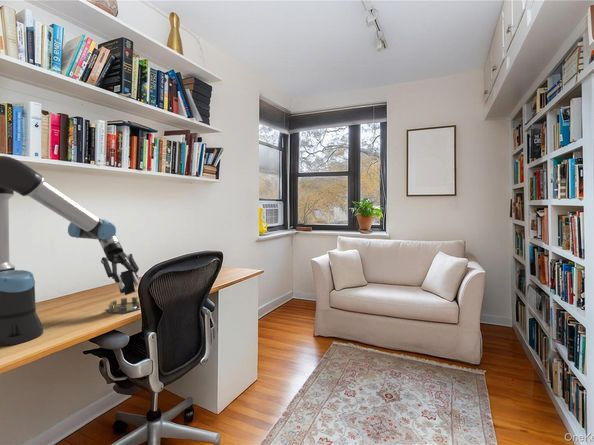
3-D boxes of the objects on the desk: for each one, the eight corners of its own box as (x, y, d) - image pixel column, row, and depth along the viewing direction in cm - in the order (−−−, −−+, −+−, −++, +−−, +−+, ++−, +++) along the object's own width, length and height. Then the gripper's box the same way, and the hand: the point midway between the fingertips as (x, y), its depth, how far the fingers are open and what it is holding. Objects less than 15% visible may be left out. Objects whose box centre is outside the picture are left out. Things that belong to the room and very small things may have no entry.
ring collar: (99, 313, 142) (99, 306, 142) (122, 302, 157) (122, 296, 156) (131, 314, 140) (131, 306, 140) (151, 303, 155) (151, 297, 155)
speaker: (138, 291, 148) (134, 269, 147) (125, 295, 143) (121, 272, 143) (131, 290, 153) (127, 268, 152) (118, 294, 148) (114, 271, 148)
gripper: (129, 249, 164) (147, 286, 155) (87, 255, 149) (105, 295, 140) (134, 240, 160) (153, 277, 151) (92, 244, 146) (110, 285, 137)
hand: (130, 286), depth 146 cm, fingers closed on speaker, 6 cm apart
